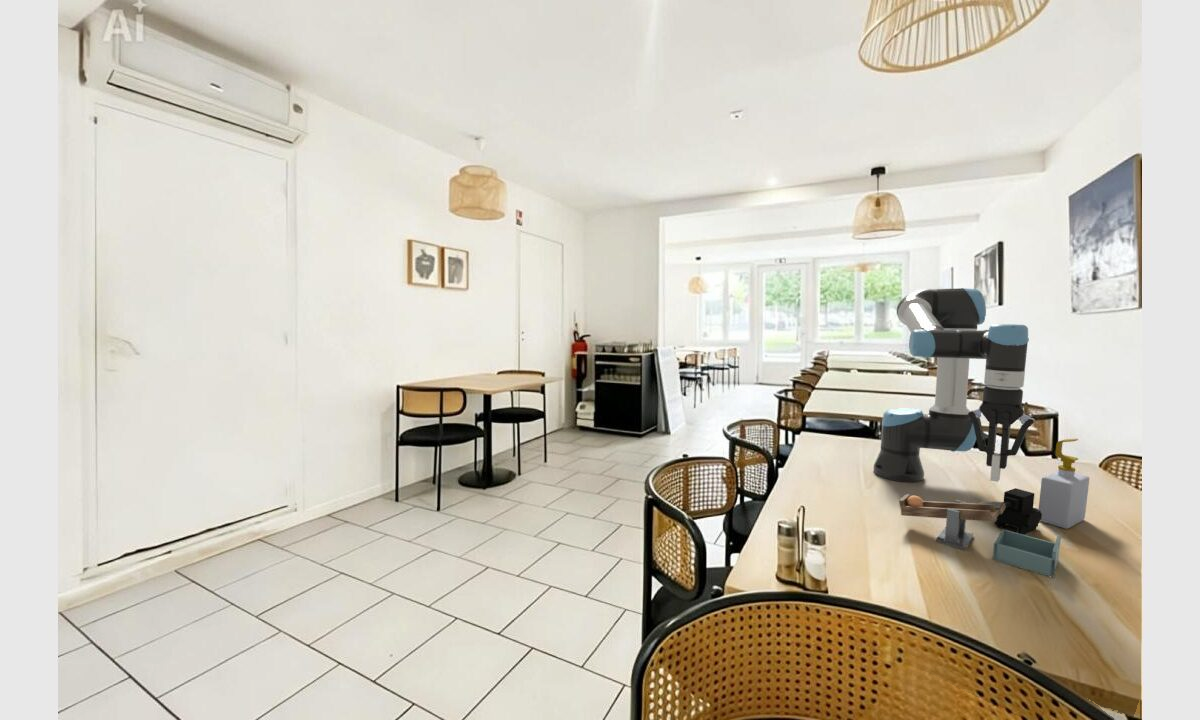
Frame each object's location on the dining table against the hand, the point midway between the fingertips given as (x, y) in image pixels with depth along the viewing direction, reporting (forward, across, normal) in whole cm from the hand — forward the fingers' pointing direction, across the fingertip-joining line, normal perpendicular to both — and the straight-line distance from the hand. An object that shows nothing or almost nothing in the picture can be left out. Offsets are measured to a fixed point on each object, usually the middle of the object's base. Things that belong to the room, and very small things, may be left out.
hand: (995, 479), depth 123 cm
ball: (+9, -16, -6) cm, 19 cm away
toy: (+16, +3, +12) cm, 20 cm away
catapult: (+10, -8, -2) cm, 13 cm away
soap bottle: (+16, +11, +29) cm, 35 cm away
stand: (+16, -6, -5) cm, 18 cm away
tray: (+16, +8, -5) cm, 19 cm away
